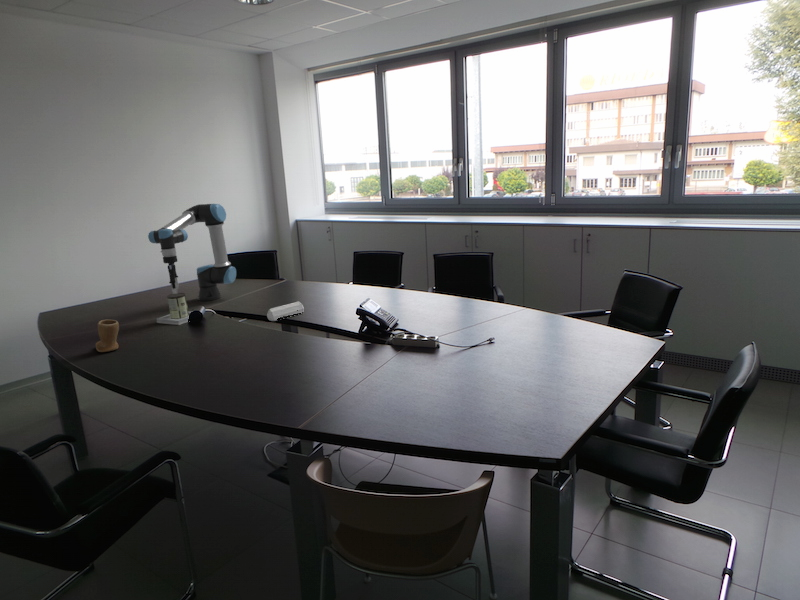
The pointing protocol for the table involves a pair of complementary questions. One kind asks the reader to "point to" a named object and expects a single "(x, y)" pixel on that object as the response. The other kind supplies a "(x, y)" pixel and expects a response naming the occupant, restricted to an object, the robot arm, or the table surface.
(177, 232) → the robot arm
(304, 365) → the table surface
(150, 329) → the table surface
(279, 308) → the crystal
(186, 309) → the coffee can
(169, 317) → the plate
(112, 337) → the stone cup
